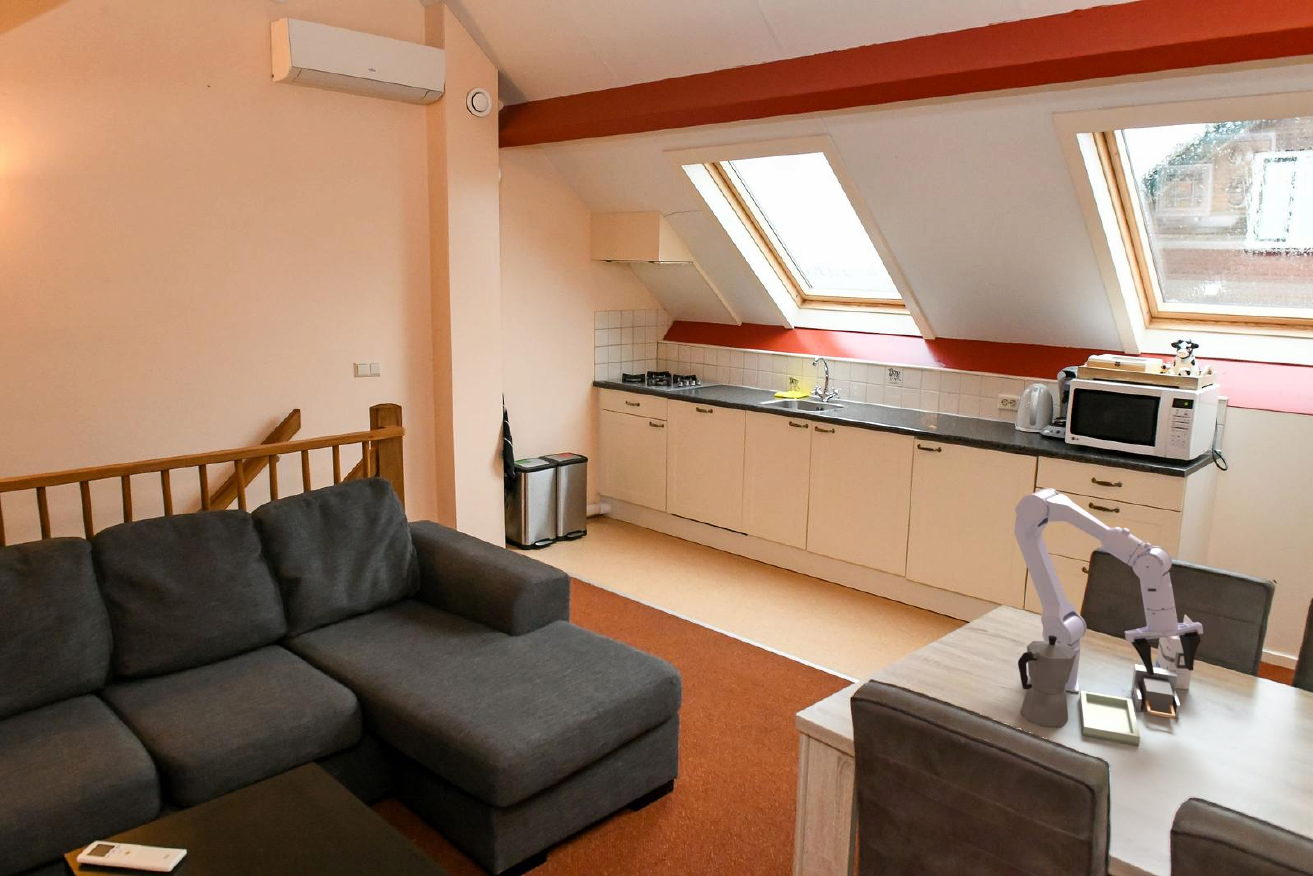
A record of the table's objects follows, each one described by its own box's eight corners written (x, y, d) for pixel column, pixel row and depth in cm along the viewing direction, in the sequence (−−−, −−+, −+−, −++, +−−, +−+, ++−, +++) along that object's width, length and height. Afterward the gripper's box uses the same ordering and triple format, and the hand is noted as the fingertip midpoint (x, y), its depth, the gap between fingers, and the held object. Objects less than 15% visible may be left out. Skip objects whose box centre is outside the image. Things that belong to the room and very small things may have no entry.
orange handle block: (1146, 723, 193) (1149, 701, 192) (1140, 698, 204) (1143, 677, 203) (1173, 728, 191) (1177, 705, 190) (1166, 702, 202) (1169, 681, 201)
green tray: (1083, 735, 187) (1084, 726, 187) (1079, 698, 202) (1080, 690, 202) (1138, 746, 183) (1140, 736, 183) (1130, 707, 199) (1131, 699, 198)
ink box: (1153, 671, 217) (1162, 611, 214) (1176, 673, 216) (1185, 613, 213) (1165, 687, 209) (1174, 625, 206) (1189, 690, 208) (1198, 628, 205)
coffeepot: (1048, 700, 201) (1057, 622, 198) (1085, 720, 193) (1094, 639, 189) (995, 715, 195) (1003, 634, 191) (1031, 736, 186) (1040, 652, 183)
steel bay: (1136, 711, 197) (1139, 685, 196) (1131, 689, 207) (1134, 664, 206) (1179, 719, 194) (1182, 692, 193) (1171, 696, 204) (1175, 670, 203)
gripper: (1129, 616, 190) (1140, 681, 190) (1205, 606, 188) (1215, 672, 188) (1117, 608, 197) (1127, 671, 197) (1190, 599, 195) (1200, 662, 195)
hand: (1169, 671), depth 193 cm, fingers open, 7 cm apart
